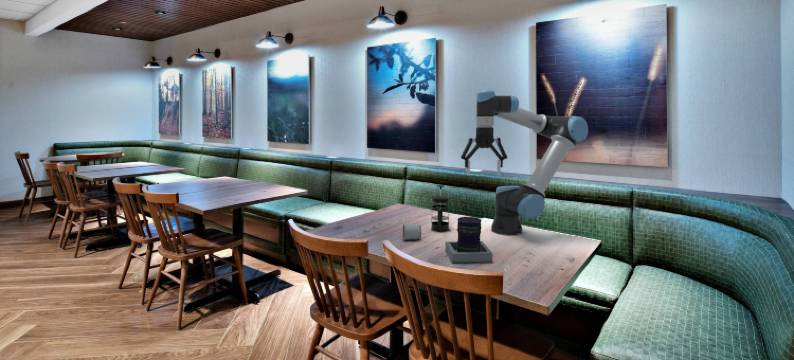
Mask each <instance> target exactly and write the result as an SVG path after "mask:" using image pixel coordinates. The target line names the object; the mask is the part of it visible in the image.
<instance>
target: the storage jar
mask: <svg viewBox="0 0 794 360" xmlns="http://www.w3.org/2000/svg"><path fill="white" fill-rule="evenodd" d="M456 226H457V227H456V231H457V253H459V252H480V250H481V242H480V241H481V234H482V219H481V218H479V217H476V216H460V217H458V218H457V224H456Z"/></svg>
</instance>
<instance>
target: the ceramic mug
mask: <svg viewBox="0 0 794 360" xmlns="http://www.w3.org/2000/svg"><path fill="white" fill-rule="evenodd" d="M421 237H422V227H421V224H419V223H418V224H417V223H403V226H402V238H403V241H407V240H408V241H409V240H410V241H411V240H414V241H417V240H420V239H421Z"/></svg>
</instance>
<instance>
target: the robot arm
mask: <svg viewBox="0 0 794 360" xmlns="http://www.w3.org/2000/svg"><path fill="white" fill-rule="evenodd" d="M475 114H476V118H475V119H476V122H475V126H477V127H476V128H475V138H472V137H469V138H467V139H468V140H467V141H468V142H467V144H466V146H465V148H464V150H463V152H462V154H461V156H460V159H461V160H464V167H465V168H466V176H468V177H470V176H471V175H470V174H471V160H470V159H471V158H472V156H473V155H474V154H475V153H476V152H477V151H478V149H490V150H491V151H492V152H493V153H494V155H495V156H496V157H497V161H496V163H497V164H496V165H497V166H496V175H498V176H501V170H502V169H501V168H503V167H504V166H503V165H504V161H505V160H506V159H508V155H507V153H506V151H505V149H504V147H503V145H502V140H501V137H494V130H495V129H494V125H495V121H494V119H495V117H498V118H500V119H503V120H505V121H508V122H511V123H513V124H516V125H520V126H521V127H525V128H527V129H530V130H532V131H533V133H535V134H538V135H541V136H543V137H545V138H548V139H551V143H550V144H549V146H548V148H547V149H546V151H545V152H544V154H543V156H542V158H541V160H540V162H539V163H538V165H537V166H536V168H535V169H534V171H533V173H532V175H531V177H530V178H529V179H528V181H527V182H526V183H524V184H522V185H521V186H519V185H502V186H501V185H500V186H497V187H496V190H495V208H494V211H495V212H494V213H495V214H494V218H493V220H492V223H491V226H490V227H491V229H490V230H491V232H492V233H495V234H498V235H504V236H514V235H515V236H516V235H520V234H522V233H523V226H522V223H521V220H520V217H521V218H525V219H531V220H532V219H536V218H538V217H540V216H541V215H542V214H543V213H544V210H545V208H546V205H545V204H546V200H545V198H546V194H545V191H546V190H547V188H548V186H549V185H550V182H551V181H552V179H553V178H554V177H555V174H556V173H557V171H558V169H559V167H560V166H561V164H562V163H563V161H564V159H565V157H566V156H567V154H568V153H569V150H573V149H574V148H575V147H576V145H577V144H578V143H581V142H583V141H585V140H586V138H587V137H588V134H589V128H588V127H589V126H588V123H587V121H586V120H585V119H584V118H583V117H582V116H576V115H572V116H567V115H566V116H559V115H557V116H556V115H555V116H553V115H552V116H551V115H547V114H546V115H545V114H543V113H542V114H537V113H535V112H531V111H529V110H526V109H523V108H521V107H520V101H519V98H518V97H517V96H515V95H496V93H495V91H494V90H488V89H487V90H486V89H485V90H479V91H478V92H477V93H476V113H475ZM494 142H495V144H496V145H497V148H498V149H499V151H498V150H497V148H496V147H495V146H494ZM473 143H475V145H474V147H473V148H472V149H471V150H470V148H471V146H472V144H473ZM468 152H469V153H468ZM500 153H501V154H500Z"/></svg>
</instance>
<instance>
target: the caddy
mask: <svg viewBox="0 0 794 360" xmlns="http://www.w3.org/2000/svg"><path fill="white" fill-rule="evenodd" d="M457 241H458V240H457ZM457 241H445V249H444V250H445V252H446V255H447V256H448V258H449V260H450V261H451V264H485V263H487V264H488V263H489V264H490V263H493V251H491V250H490V248H489V247H488V246H487V245H486V244H485V243H484V241H483V240H480V242H481V250H480V252H459V253H457Z"/></svg>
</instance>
